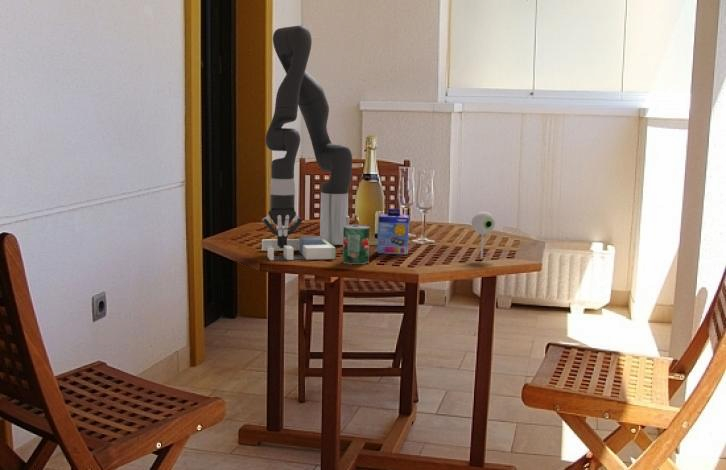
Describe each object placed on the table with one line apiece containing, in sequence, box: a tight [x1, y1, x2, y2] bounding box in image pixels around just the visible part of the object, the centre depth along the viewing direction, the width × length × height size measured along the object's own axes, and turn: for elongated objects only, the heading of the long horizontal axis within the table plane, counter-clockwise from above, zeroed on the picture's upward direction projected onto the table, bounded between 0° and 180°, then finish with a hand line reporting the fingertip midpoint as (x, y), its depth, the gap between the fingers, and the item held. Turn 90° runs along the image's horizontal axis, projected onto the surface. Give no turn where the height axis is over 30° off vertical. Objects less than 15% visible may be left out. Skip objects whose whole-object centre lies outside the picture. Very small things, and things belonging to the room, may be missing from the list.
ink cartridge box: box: [377, 208, 410, 256], centre depth 295 cm, size 10×6×14 cm, turn 87°
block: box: [299, 236, 322, 256], centre depth 291 cm, size 6×6×5 cm
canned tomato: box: [342, 223, 371, 265], centre depth 277 cm, size 8×8×11 cm
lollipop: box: [471, 211, 496, 260], centre depth 288 cm, size 7×7×15 cm
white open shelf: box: [261, 238, 336, 261], centre depth 288 cm, size 20×18×4 cm
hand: (281, 247), depth 289 cm, fingers closed
